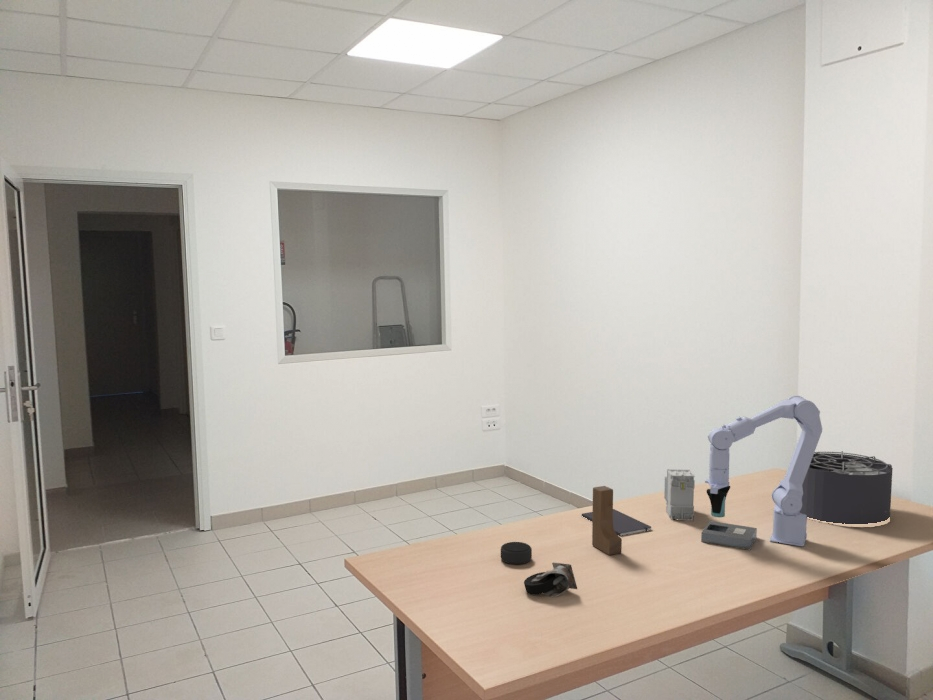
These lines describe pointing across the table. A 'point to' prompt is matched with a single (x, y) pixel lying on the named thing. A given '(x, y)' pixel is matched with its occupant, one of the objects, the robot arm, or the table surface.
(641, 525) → the notebook
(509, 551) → the smart speaker
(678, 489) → the circuit breaker
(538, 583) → the caster wheel
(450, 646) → the table surface
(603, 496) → the wooden block
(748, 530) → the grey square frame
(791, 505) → the robot arm
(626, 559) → the table surface
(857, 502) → the ventilation fan
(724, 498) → the barrel peg
